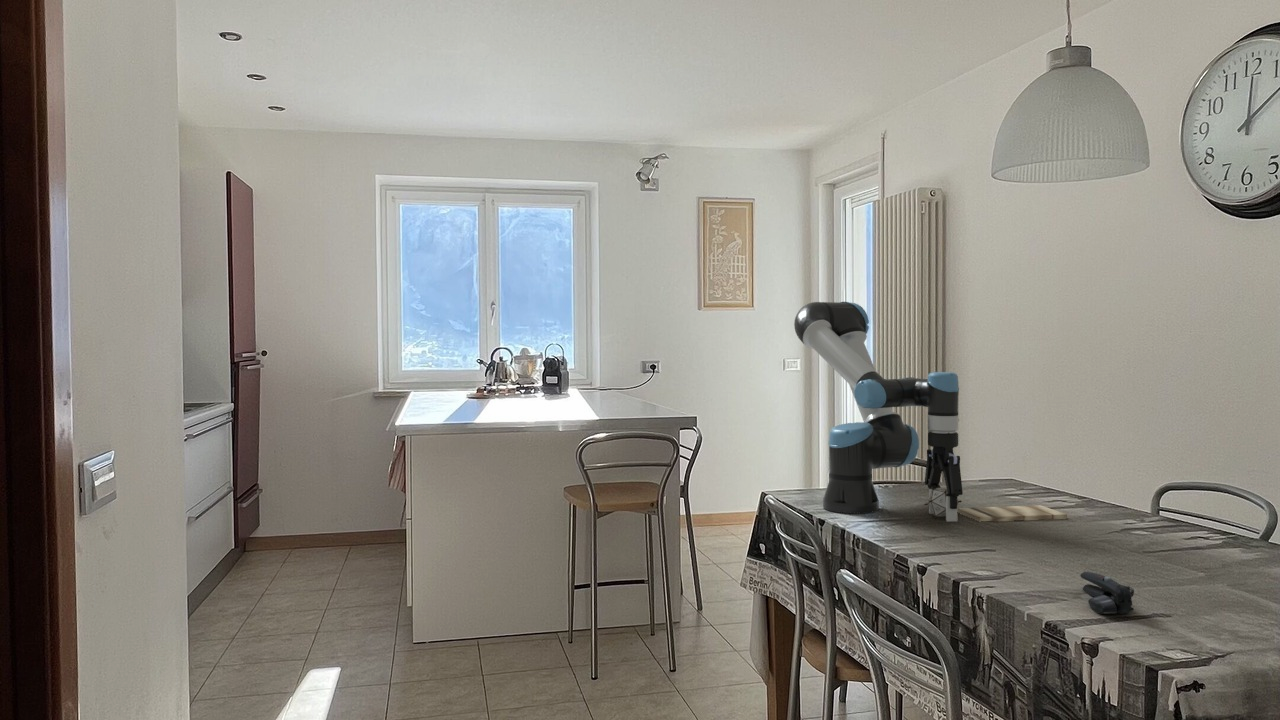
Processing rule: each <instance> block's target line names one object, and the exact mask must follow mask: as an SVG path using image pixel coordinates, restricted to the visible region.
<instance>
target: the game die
mask: <svg viewBox="0 0 1280 720" xmlns="http://www.w3.org/2000/svg"><path fill="white" fill-rule="evenodd" d="M931 489H932V490H933V491H932V493H931V496H930V498H929V497H928V501H927V503H924V504H923V505H924V506H928V509H929V508H930V509H931V511H932V512H933V514H932V515H934V516H933V520H935V519H937V517H939V518H940V517H941V518H942V517H944V518H946V496H945V495H946V494H947V493H948V492H947V488H946V489H941V488H936V489H933V487H931ZM959 503H962V500H959V499H957V506H958V505H959Z"/></svg>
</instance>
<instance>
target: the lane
mask: <svg viewBox="0 0 1280 720" xmlns="http://www.w3.org/2000/svg"><path fill="white" fill-rule="evenodd" d="M957 512H958V513H957V514H959V513H961V514H960V515H962V514H963V515H962V516H964V515H966V516H968V517H967V518H969V517H970V518H969V519H971V518H973V519H975V520H974V521H976V520H977V522H978V521H998V522H1015V521H1014V520H1024V521H1039V520H1038V519H1051V520H1068V513H1064V512H1061V511H1059V510H1056V509H1053V508H1050V507H1047V506H1044V505H1040V504H1035V505H1012V506H1011V505H1010V506H1009V505H1008V506H984V507H983V506H982V507H981V506H980V507H979V506H978V507H957ZM966 516H965V517H966ZM973 519H972V520H973Z"/></svg>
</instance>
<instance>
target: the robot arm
mask: <svg viewBox="0 0 1280 720" xmlns="http://www.w3.org/2000/svg"><path fill="white" fill-rule="evenodd" d="M869 322H870V321H869V317H868V314H867V312H866V309H864V308H863V306H861V304H858V303H856V302H849V301H839V302H836V301H835V302H834V301H832V302H829V301H828V302H827V301H812V302H810V303H807V304H805V305H803V306H802V307H801V308H800V309H799V310H798V312H797V313H796V316H795V318H794V322H793V325H794V331H795V334H796V336H797V338H798V339H799V340H800V342H801V343H802V344H803V345H804V346H805V347H806V348H808V349H813V350H814V351H815V352H816V353H817V354H818V355H819V356H820V357H821V358H822V359H824V361H826V363H827V364H828V365H829V366H830V367H831V368H832V369H833V370H834V371H836V373H837V374H838V375H839V376H840V377H841V378H842V379H843V380H844V381H845V382H847V383H848V385H849V387H850V391H851V393H852V395H853V398H854V401H855V402H856V405H857V408H858V410H859V413H860V416H861V418H862V420H863V422H861V421H858V422H847V423H842V424H838V425H835V426H833V427H832V428H831V430H830V431H829V437H828V438H829V439H828V448H829V449H828V451H829V453H828V454H829V455H828V456H829V457H828V459H829V462H828V463H829V464H828V465H829V468H828V471H829V472H828V473H829V475H828V476H829V477H828V483H827V486H826V488H825V491H824V495H823V498H822V499H823V500H822V507H823V509H824V510H827V511H830V512H834V513H840V512H841V513H842V512H843V513H842V514H869V513H875V512H877V511H879V510H880V502H879V497H878V494H877V492H876V488H875V486H874V483H873V470H874V469H875V470H876V469H887V468H900V467H903V466H909V465H910V464H911V463H912V462H913V461H915V459H916V457H917V456H918V452H919V448H920V438H919V436H918V432H917V430H916V429H915V427H913V426H911V425H909V424H904V421H903V419H902V417H901V415H900V414H899V413H897V412H894V411H893V409H892V408H903V407H905V408H906V407H925V408H927V431H928V430H929V431H928V433H927V445H928V446H929V447H931V449H926V464H925V465H926V466H925V475H924V476H925V477H924V485H926V486H927V489H928V499H929V498H930V496H931V493H932V491H933V490H932V489H931V487H933V489H941V485H940V481H941V478H942V473H943V478H944V483H945V487H946V489H947V492H948V493H947V494H946V495H945V496H946V517H945V521H946V522H958V513H957V508H958V505H957V500H958V497H959V496H962V495H963V482H962V475H961V472H962V471H961V466H960V465H961V456H960V455H955V454H954V448H957V447H958V446H959V433H958V432H957V431H958V430H959V421H960V418H959V391H960V386H959V376H958V375H957V373H955V372H951V371H950V372H949V371H933V372H930V373H928V375H927V379H926V378H916V377H911V376H910V377H901V378H890V379H889V378H887V379H886V378H883V376H882V375H880V374H879V373H878V372H877V371H876V368H875V366H874V363H873V361H872V358H871V356H870V354H869V351H868V349H867V346H866V345H865V344H866V343H865V341H866V340H867V334H868V332H869V328H870V327H869V325H868V324H869ZM932 447H933V448H932ZM928 513H929V514H930V515H931V514H932V515H934V514H933V512H932V511H931V509H930V508H929V507H928Z"/></svg>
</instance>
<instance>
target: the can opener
mask: <svg viewBox="0 0 1280 720" xmlns="http://www.w3.org/2000/svg"><path fill="white" fill-rule="evenodd" d="M1080 577H1081V579H1083V580H1085V581H1088V582H1090V583H1091V584H1090V583H1088V584H1084V585H1083V587H1082V590H1083V591H1084V592H1085V593H1086V594H1088V595H1089V596H1091V597H1092V598H1089V599H1088V605H1089V608H1090V609H1091V610H1092V611H1093V612H1095V613H1097V614H1101V615H1102V614H1103V615H1107V614H1108V615H1109V614H1111V615H1112V614H1117V615H1118V614H1119V615H1124V614H1127V613H1130V612H1132V611H1134V607H1132V606H1133V600H1132V598H1133V597H1134V594H1135V589H1134V587H1133V586H1130V585H1126V586H1125V585H1122V584H1120V583H1119V582H1117V581H1115V580H1114V579H1112V578H1111V576H1106V575H1103V574H1100V573H1096V572H1092V571H1083V572H1082V573H1081V574H1080Z"/></svg>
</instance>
